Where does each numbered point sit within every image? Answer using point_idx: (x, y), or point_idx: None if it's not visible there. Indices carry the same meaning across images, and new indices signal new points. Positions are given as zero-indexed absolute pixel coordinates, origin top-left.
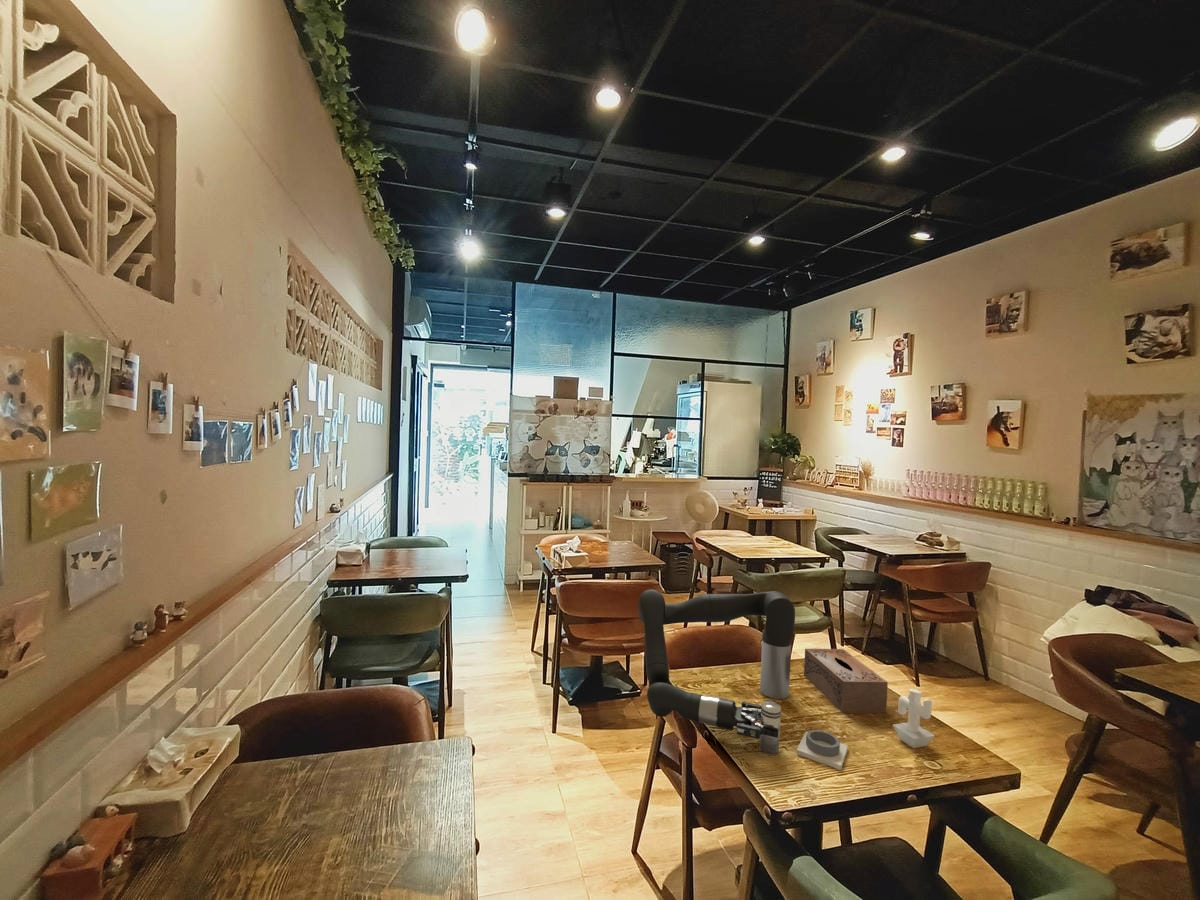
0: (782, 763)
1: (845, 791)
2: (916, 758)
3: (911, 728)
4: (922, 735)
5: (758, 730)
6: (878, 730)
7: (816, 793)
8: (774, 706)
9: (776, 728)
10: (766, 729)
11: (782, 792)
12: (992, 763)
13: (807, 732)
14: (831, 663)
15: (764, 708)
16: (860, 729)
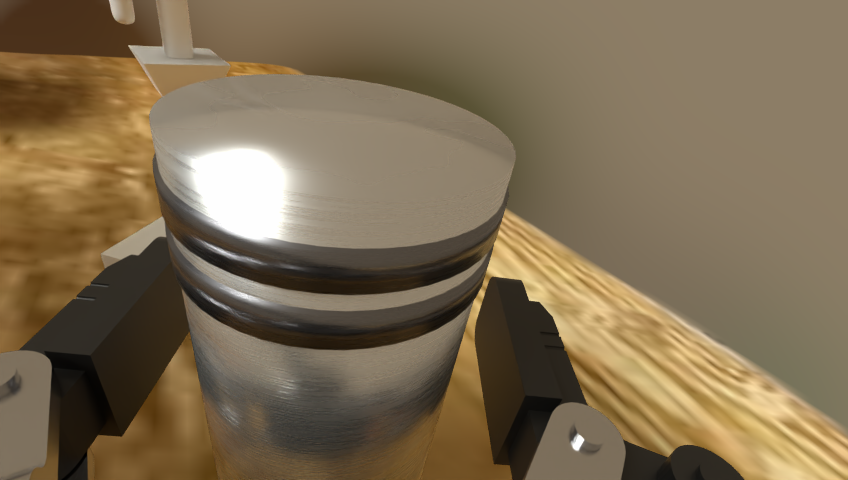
0: (470, 420)
1: (520, 237)
2: None
3: (187, 48)
4: (210, 55)
5: (733, 477)
6: (100, 111)
7: (608, 307)
8: (353, 103)
9: (506, 282)
10: (564, 381)
11: (747, 437)
12: (260, 64)
13: (114, 249)
14: None
15: (484, 197)
16: (82, 134)
